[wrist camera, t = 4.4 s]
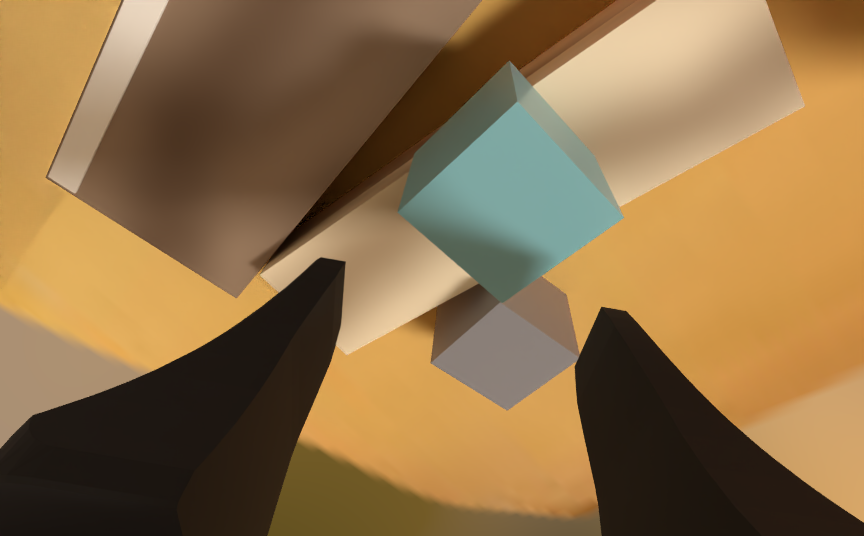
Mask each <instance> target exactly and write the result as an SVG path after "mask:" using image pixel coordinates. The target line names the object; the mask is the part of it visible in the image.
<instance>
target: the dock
mask: <svg viewBox="0 0 864 536" xmlns="http://www.w3.org/2000/svg"><path fill="white" fill-rule="evenodd" d="M481 1H482V0H121V3H120V5H119V7H118V10H117V12H116V14H115V17H114V19H113V21H112V24H111V26H110V28H109V31H108V33H107V35H106V38H105V40H104V42H103V45H102V47H101V49H100V52H99V54H98V56H97V59H96V61H95V63H94V66H93V68H92V70H91V73H90V75H89V77H88V80H87V82H86V84H85V87H84V89H83V91H82V94H81V96H80V98H79V101H78V103H77V105H76V108H75V110H74V112H73V115H72V117H71V119H70V122H69V124H68V126H67V129H66V131H65V133H64V136H63V138H62V140H61V143H60V145H59V147H58V150H57V152H56V154H55V157H54V159H53V161H52V164H51V166H50V168H49V171H48V173H47V175H46V178H47V179H48V180H50V181H52V182H53V183H55V184H56V185H58V186H60V187H61V188H63V189H64V190H66V191H67V192H69V193H71V194H72V195H74V196H75V197H77V198H78V199H80V200H82V201H83V202H85V203H86V204H88V205H90V206H91V207H93V208H94V209H96V210H97V211H99V212H101V213H102V214H104V215H105V216H107V217H109V218H110V219H112V220H113V221H115V222H116V223H118V224H120V225H121V226H123V227H124V228H126V229H127V230H129V231H131V232H132V233H134V234H135V235H137V236H139V237H140V238H142V239H143V240H145V241H146V242H148V243H150V244H151V245H153V246H154V247H156V248H158V249H159V250H161V251H162V252H164V253H165V254H167V255H169V256H170V257H172V258H173V259H175V260H176V261H178V262H180V263H181V264H183V265H184V266H186V267H188V268H189V269H191V270H192V271H194V272H195V273H197V274H199V275H200V276H202V277H203V278H205V279H207V280H208V281H210V282H211V283H213V284H214V285H216V286H218V287H219V288H221V289H222V290H224V291H225V292H227V293H229V294H230V295H232V296H233V297H235V298H237V297H238V296H239V295H240V294H241V292H242V291H243V290H244V289H245V288H246V286H247V285H248V284H249V283H250V282H251V280H252V279H253V278H254V277H255V275H256V274H257V273H258V272H259V271H260V269H261V268H262V267H263V266H264V264H265V263H266V262H267V261H268V260H269V258H270V257H271V256H272V255H273V254H274V252H275V251H276V250H277V249H278V247H279V246H280V245H281V244H282V243H283V241H284V240H285V239H286V238H287V237H288V235H289V234H290V233H291V232H292V230H293V229H294V228H295V227H296V226H297V224H298V223H299V222H300V221H301V220H302V218H303V217H304V216H305V215H306V213H307V212H308V211H309V210H310V209H311V207H312V206H313V205H314V204H315V203H316V201H317V200H318V199H319V198H320V196H321V195H322V194H323V193H324V192H325V190H326V189H327V188H328V187H329V186H330V184H331V183H332V182H333V181H334V179H335V178H336V177H337V176H338V175H339V173H340V172H341V171H342V170H343V169H344V167H345V166H346V165H347V164H348V162H349V161H350V160H351V159H352V158H353V156H354V155H355V154H356V153H357V152H358V150H359V149H360V148H361V147H362V145H363V144H364V143H365V142H366V141H367V139H368V138H369V137H370V136H371V135H372V133H373V132H374V131H375V130H376V128H377V127H378V126H379V125H380V124H381V122H382V121H383V120H384V119H385V118H386V116H387V115H388V114H389V113H390V111H391V110H392V109H393V108H394V107H395V105H396V104H397V103H398V102H399V101H400V99H401V98H402V97H403V96H404V94H405V93H406V92H407V91H408V90H409V88H410V87H411V86H412V85H413V84H414V82H415V81H416V80H417V79H418V77H419V76H420V75H421V74H422V73H423V71H424V70H425V69H426V68H427V67H428V65H429V64H430V63H431V62H432V60H433V59H434V58H435V57H436V56H437V54H438V53H439V52H440V51H441V50H442V48H443V47H444V46H445V45H446V43H447V42H448V41H449V40H450V39H451V37H452V36H453V35H454V34H455V33H456V31H457V30H458V29H459V28H460V26H461V25H462V24H463V23H464V22H465V20H466V19H467V18H468V17H469V15H470V14H471V13H472V12H473V11H474V9H475V8H476V7H477V6H478V5H479V3H480V2H481Z"/></svg>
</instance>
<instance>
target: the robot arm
mask: <svg viewBox="0 0 864 536" xmlns="http://www.w3.org/2000/svg"><path fill="white" fill-rule="evenodd" d="M345 265H346V261H340V260H334V259H329V258H323V257H320V258H319V259H317V260H316V261H315V262H313V263H312V264H311V265H310V266H309V267H308V268H307V269H306V270H305V271H304V272H303V273H301V274H300V275H299V276H298V277H297V278H296V279H295V280H294V281H292V282H291V283H290V284H289V285H288V286H287V287H285V288H284V289H283V290H282V291H280V292H279V293H278V294H277V295H276V296H274V297H273V298H272V299H271V300H269V301H268V302H267V303H266V304H264V305H263V306H262V307H260V308H259V309H258V310H256V311H255V312H253V313H252V314H251V315H249V316H248V317H247V318H245V319H244V320H242V321H241V322H240V323H238V324H237V325H235V326H234V327H232V328H231V329H229V330H228V331H226V332H225V333H223V334H221V335H220V336H218V337H217V338H215V339H213V340H212V341H210V342H208V343H207V344H205V345H203V346H202V347H200V348H198V349H196V350H194V351H192V352H190V353H188V354H186V355H184V356H182V357H180V358H178V359H176V360H174V361H172V362H170V363H168V364H166V365H164V366H162V367H160V368H158V369H156V370H154V371H152V372H150V373H147V374H145V375H143V376H140V377H138V378H136V379H133V380H131V381H129V382H126V383H124V384H121V385H119V386H116V387H114V388H111V389H109V390H106V391H103V392H101V393H98V394H95V395H93V396H90V397H87V398H84V399H81V400H78V401H75V402H72V403H69V404H66V405H63V406H60V407H57V408H54V409H51V410H48V411H45V412H42V413H39V414H35V415H33V416H32V417H31V418H29V419H28V420H27V421H26V422H25V423H24V424H23V425H22V426H21V427H20V428H19V429H18V430H17V431H16V432H15V433H14V434H13V435H12V436H11V437H10V438H9V440H8V441H7V442H6V443H5V444H4V445H3V446H2V447H1V449H0V536H267V535H268V531H269V528H270V525H271V521H272V518H273V515H274V511H275V508H276V505H277V502H278V498H279V495H280V492H281V489H282V485H283V482H284V479H285V476H286V472H287V469H288V466H289V463H290V460H291V457H292V454H293V451H294V448H295V446H296V443H297V440H298V438H299V435H300V433H301V431H302V428H303V426H304V424H305V421H306V419H307V417H308V414H309V412H310V410H311V407H312V405H313V403H314V400H315V398H316V395H317V393H318V391H319V388H320V386H321V384H322V381H323V379H324V377H325V374H326V372H327V369H328V367H329V365H330V362H331V359H332V356H333V352H334V349H335V346H336V342H337V338H338V335H339V331H340V328H341V320H342V306H343V292H344V279H345ZM575 379H576V393H577V404H578V409H579V414H580V419H581V424H582V429H583V434H584V438H585V443H586V447H587V452H588V456H589V461H590V466H591V470H592V475H593V479H594V484H595V489H596V495H597V500H598V506H599V515H600V523H601V533H602V536H864V523H863V522H862V521H860V520H859V519H857V518H856V517H854V516H853V515H851V514H850V513H848V512H847V511H845V510H844V509H842V508H841V507H839V506H838V505H836V504H835V503H833V502H832V501H830V500H829V499H827V498H826V497H825V496H823V495H822V494H821V493H819V492H817V491H816V490H815V489H814V488H812V487H811V486H809V485H808V484H807V483H805V482H804V481H802V480H801V479H800V478H799V477H797V476H796V475H795V474H793V473H792V472H791V471H789V470H788V469H787V468H785V467H784V466H783V465H782V464H780V463H779V462H777V461H776V460H775V459H774V458H772V457H771V456H770V455H769V454H768V453H766V452H765V451H764V450H763V449H761V448H760V447H759V446H758V445H757V444H755V443H754V442H753V441H752V440H751V439H750V438H749V437H747V436H746V435H745V434H744V433H743V432H742V431H741V430H739V429H738V428H737V427H736V426H735V425H734V424H733V423H731V422H730V421H729V420H728V419H727V418H726V417H725V416H724V415H723V414H722V413H721V412H720V411H719V410H717V409H716V408H715V407H714V406H713V405H712V404H711V403H710V402H709V401H708V400H707V399H706V398H705V397H704V396H703V395H702V394H701V393H700V392H699V391H698V390H697V389H696V388H695V386H694V385H693V384H692V383H691V382H690V381H689V380H688V379H687V378H686V377H685V376H684V375H683V374H682V373H681V372H680V370H679V369H678V368H677V367H676V366H675V365H674V364H673V363H672V362H671V361H670V359H669V358H668V357H667V356H666V355H665V354H664V353H663V352H662V350H661V349H660V348H659V347H658V346H657V345H656V344H655V342H654V341H653V340H652V339H651V338H650V337H649V336H648V334H647V333H646V332H645V331H644V330H643V329H642V328H641V326H640V325H639V324H638V323H637V322H636V321H635V320H634V319H633V318H632V317H631V316H630V315H629V314H628V312H626V311H622V310H617V309H611V308H605V307H601V309H600V311H599V313H598V316H597V318H596V320H595V322H594V325H593V327H592V329H591V331H590V334H589V336H588V338H587V340H586V342H585V345H584V347H583V349H582V351H581V354H580V356H579V358H578V360H577V363H576V365H575Z"/></svg>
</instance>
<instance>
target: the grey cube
mask: <svg viewBox="0 0 864 536" xmlns="http://www.w3.org/2000/svg"><path fill="white" fill-rule="evenodd" d="M579 356H580V354H579V350H578V345H577V341H576V336H575V331H574V327H573V322H572V318H571V313H570V309H569V304H568V299H567V295H566V294H565V293H564V292H562V291H561V290H559V289H558V288H557V287H555V286H554V285H553V284H551V283H550V282H549V281H547V280H546V279H545V278H543V277H542V276H540V277H539V278H538V279H536V280H535V281H533V282H532V283H531V284H529V285H528V286H526V287H525V288H523V289H522V290H521V291H519V292H518V293H516V294H515V295H513V296H512V297H511V298H509V299H508V300H506V301H505V302H504V303H501V302H500V301H499V300H497V299H496V298H495V297H494V296H493V295H492V294H491V293H489V292H488V291H487V290H486V289H485V288H484V287H483V286H481V285H480V284H477V285H475V286H473V287H471V288H470V289H468V290H466V291H464V292H462V293H460V294H459V295H457V296H455V297H453V298H451V299H449V300H447V301H446V302H444V303H442V304H440V305H438V306H437V315H436V323H435V331H434V339H433V348H432V356H431V364H433V365H435V366H436V367H438V368H439V369H441V370H443V371H444V372H446V373H447V374H449V375H451V376H452V377H454V378H456V379H457V380H459V381H460V382H462V383H464V384H465V385H467V386H468V387H470V388H472V389H473V390H475V391H477V392H478V393H480V394H481V395H483V396H485V397H486V398H488V399H489V400H491V401H493V402H494V403H496V404H498V405H499V406H501V407H502V408H504V409H506V410H509V409H510V408H512V407H513V406H514V405H516V404H517V403H519V402H520V401H521V400H523V399H524V398H526V397H527V396H528V395H530V394H531V393H533V392H534V391H535V390H537V389H538V388H540V387H541V386H542V385H544V384H545V383H547V382H548V381H549V380H551V379H552V378H554V377H555V376H556V375H558V374H559V373H561V372H562V371H563V370H565V369H566V368H568V367H569V366H570V365H572V364H573V363H575V362H576V361H577V360H578V358H579Z"/></svg>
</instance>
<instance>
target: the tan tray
mask: <svg viewBox="0 0 864 536" xmlns="http://www.w3.org/2000/svg"><path fill="white" fill-rule="evenodd" d="M518 71H519V72H520V73H521V74H522V75H523V76H524V77H525V78H526V80H527V81H528V82H529V83H530V84H531V85H532V86H533V87H534V89H535V90H536V91H537V92H538V93H539V94H540V95H541V96H542V98H543V99H544V100H545V101H546V102H547V103H548V104H549V105H550V107H551V108H552V109H553V110H554V111H555V112H556V113H557V114H558V115H559V117H560V118H561V119H562V120H563V121H564V122H565V123H566V124H567V126H568V127H569V128H570V129H571V130H572V131H573V132H574V133H575V135H576V136H577V137H578V138H579V139H580V140H581V141H582V142H583V144H584V145H585V146H586V147H587V148H588V149H589V150H590V151H591V153H592V154H593V155H594V156H595V158H596V160H597V162H598V164H599V166H600V168H601V170H602V173H603V175H604V177H605V179H606V181H607V183H608V185H609V187H610V189H611V191H612V193H613V196H614V198H615V200H616V202H617V204H618V206H619V207H620V206H622V205H624V204H626V203H628V202H630V201H632V200H633V199H635V198H637V197H639V196H641V195H643V194H644V193H646V192H648V191H650V190H652V189H654V188H655V187H657V186H659V185H661V184H663V183H665V182H666V181H668V180H670V179H672V178H674V177H676V176H678V175H679V174H681V173H683V172H685V171H687V170H689V169H690V168H692V167H694V166H696V165H698V164H700V163H701V162H703V161H705V160H707V159H709V158H711V157H713V156H714V155H716V154H718V153H720V152H722V151H724V150H725V149H727V148H729V147H731V146H733V145H735V144H736V143H738V142H740V141H742V140H744V139H746V138H747V137H749V136H751V135H753V134H755V133H757V132H759V131H760V130H762V129H764V128H766V127H768V126H770V125H771V124H773V123H775V122H777V121H779V120H781V119H782V118H784V117H786V116H788V115H790V114H792V113H794V112H795V111H797V110H799V109H801V108H803V107H805V104H804V102H803V99H802V96H801V94H800V91H799V88H798V86H797V83H796V80H795V78H794V75H793V72H792V70H791V67H790V64H789V62H788V59H787V56H786V54H785V51H784V48H783V46H782V43H781V40H780V38H779V35H778V32H777V30H776V27H775V24H774V22H773V19H772V16H771V13H770V11H769V8H768V5H767V3H766V0H616V1H615V2H614V3H612V4H611V5H609V6H608V7H607V8H605V9H604V10H602V11H601V12H600V13H598V14H597V15H595V16H594V17H593V18H591V19H590V20H588V21H587V22H586V23H584V24H583V25H581V26H580V27H579V28H577V29H576V30H574V31H573V32H572V33H570V34H569V35H567V36H566V37H565V38H563V39H562V40H560V41H559V42H558V43H556V44H555V45H553V46H552V47H551V48H549V49H548V50H546V51H545V52H544V53H542V54H541V55H539V56H538V57H537V58H535V59H534V60H532V61H531V62H530V63H528V64H527V65H525V66H524V67H523V68H521V69H520V70H518ZM444 124H445V123H444ZM444 124H443V125H444ZM443 125H441V126H440V127H439V128H437V129H436V130H434V131H433V132H432V133H430V134H429V135H427V136H426V137H425V138H423V139H422V140H420V141H419V142H418V143H416V144H415V145H413V146H412V147H411V148H409V149H408V150H406V151H405V152H404V153H402V154H401V155H399V156H398V157H397V158H395V159H394V160H392V161H391V162H390V163H388V164H387V165H385V166H384V167H383V168H381V169H380V170H378V171H377V172H376V173H374V174H373V175H371V176H370V177H369V178H367V179H366V180H364V181H363V182H362V183H360V184H359V185H357V186H356V187H355V188H353V189H352V190H350V191H349V192H348V193H346V194H345V195H343V196H342V197H341V198H339V199H338V200H336V201H335V202H334V203H332V204H331V205H329V206H328V207H327V208H325V209H324V210H323V211H321V212H320V213H318V214H317V215H316V216H314V217H313V218H311V219H310V220H309V221H307V222H306V223H304V224H303V225H302V226H300V227H299V228H297V229H296V230H295V231H293V232H292V233H290V234H289V235H288V237H287V238H286V239H285V240H284V241H283V243H282V244H281V245H280V246H279V247H278V249H277V250H276V251H275V252H274V254H273V255H272V256H271V258H270V260H269V261H268V263H267V264H266V266H265V267H264V269H263V271H262V272H261V274H260V276H261V277H262V278H263V279H265V280H266V281H267V282H268V283H269V284H270V285H271V286H272V287H273V288H274V289H275V290H276V291H278V292H280V291H282V290H283V289H284V288H285V287H287V286H288V285H289V284H290V283H291V282H292V281H294V280H295V279H296V278H297V277H298V276H299V275H300V274H301V273H303V272H304V271H305V270H306V269H307V268H308V267H309V266H310V265H311V264H312V263H313V262H315V261H316V260H317V259H319V258H320V257H323V258H329V259H334V260H340V261H346V265H345V279H344V292H343V306H342V320H341V328H340V331H339V335H338V338H337V342H336V346H337V347H338V348H339V349H340V350H342V351H343V352H344V353H345V354H346V355H348V354H350V353H352V352H354V351H355V350H357V349H359V348H361V347H363V346H365V345H366V344H368V343H370V342H372V341H374V340H376V339H378V338H379V337H381V336H383V335H385V334H387V333H389V332H390V331H392V330H394V329H396V328H398V327H400V326H401V325H403V324H405V323H407V322H409V321H411V320H412V319H414V318H416V317H418V316H420V315H422V314H424V313H425V312H427V311H429V310H431V309H433V308H435V307H436V306H438V305H440V304H442V303H444V302H446V301H447V300H449V299H451V298H453V297H455V296H457V295H459V294H460V293H462V292H464V291H466V290H468V289H470V288H471V287H473V286H475V285H477V284H479V283H478V282H477V281H476V280H474V279H473V278H472V277H471V276H470V275H469V274H468V273H466V272H465V271H464V270H463V269H462V268H461V267H460V266H458V265H457V264H456V263H455V262H454V261H453V260H451V259H450V258H449V257H448V256H447V255H446V254H445V253H443V252H442V251H441V250H440V249H439V248H438V247H437V246H435V245H434V244H433V243H432V242H431V241H430V240H428V239H427V238H426V237H425V236H424V235H423V234H422V233H420V232H419V231H418V230H417V229H416V228H415V227H414V226H412V225H411V224H410V223H409V222H408V221H407V220H405V219H404V218H403V217H402V216H401V215H400V214H399V213H397V212H398V209H399V205H400V202H401V198H402V195H403V191H404V188H405V184H406V181H407V177H408V174H409V170H410V167H411V164H412V160H413V157H414V153H415V152H416V151H417V150H418V149H419V148H421V147H422V146H423V145H424V144H425V143H426V142H427V141H428V140H429V139H430V138H431V137H432V136H433V135H434V134H435V133H436V132H437V131H438V130H439V129H440V128H441V127H442V126H443Z"/></svg>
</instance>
